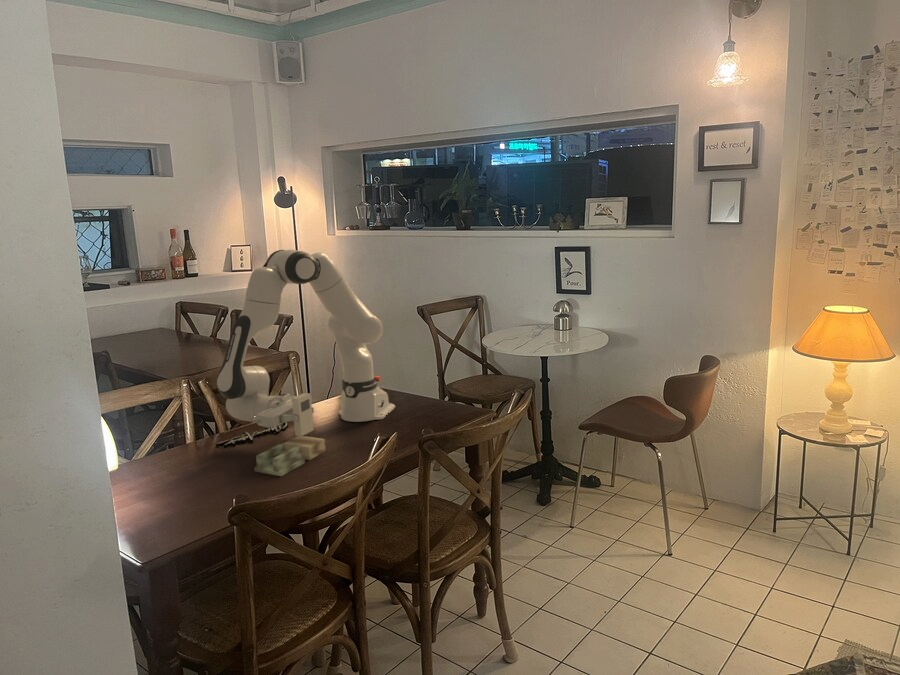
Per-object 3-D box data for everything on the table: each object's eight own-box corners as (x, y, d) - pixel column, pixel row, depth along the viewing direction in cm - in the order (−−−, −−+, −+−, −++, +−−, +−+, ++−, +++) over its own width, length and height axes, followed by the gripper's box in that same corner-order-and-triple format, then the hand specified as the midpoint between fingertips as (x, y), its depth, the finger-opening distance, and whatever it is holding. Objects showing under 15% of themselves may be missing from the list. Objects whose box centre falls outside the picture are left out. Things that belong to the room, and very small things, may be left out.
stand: (300, 447, 220) (299, 435, 219) (325, 451, 215) (324, 439, 214) (284, 455, 213) (283, 443, 212) (310, 459, 208) (309, 447, 207)
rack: (278, 458, 210) (277, 443, 209) (304, 462, 206) (303, 447, 205) (254, 471, 201) (252, 455, 200) (281, 476, 196) (279, 460, 195)
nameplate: (279, 420, 245) (297, 424, 238) (279, 424, 245) (297, 429, 239) (211, 442, 224) (228, 448, 218) (211, 446, 224) (229, 452, 218)
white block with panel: (307, 429, 216) (303, 392, 213) (313, 429, 215) (310, 393, 212) (295, 435, 211) (291, 398, 208) (301, 436, 210) (298, 399, 207)
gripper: (246, 410, 207) (282, 415, 201) (289, 391, 225) (323, 395, 219) (248, 430, 209) (284, 435, 203) (291, 410, 227) (325, 414, 221)
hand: (305, 414), depth 211 cm, fingers closed on white block with panel, 6 cm apart
